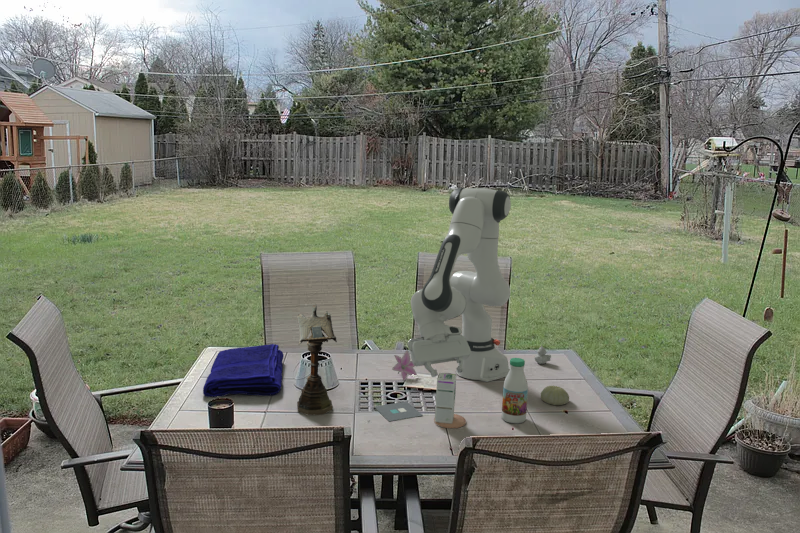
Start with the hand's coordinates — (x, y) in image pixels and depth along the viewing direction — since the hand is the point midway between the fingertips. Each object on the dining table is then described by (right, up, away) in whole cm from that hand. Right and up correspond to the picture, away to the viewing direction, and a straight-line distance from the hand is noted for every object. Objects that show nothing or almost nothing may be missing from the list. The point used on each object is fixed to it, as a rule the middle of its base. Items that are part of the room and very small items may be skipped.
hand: (448, 373), depth 202 cm
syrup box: (-1, -15, 0) cm, 15 cm away
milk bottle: (+21, -15, +3) cm, 26 cm away
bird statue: (-42, -13, +5) cm, 44 cm away
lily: (-14, -8, +37) cm, 41 cm away
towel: (-71, -7, +32) cm, 78 cm away
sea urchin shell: (+38, -13, +19) cm, 44 cm away
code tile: (-16, -13, +6) cm, 22 cm away
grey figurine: (+42, -5, +56) cm, 71 cm away
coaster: (+1, -15, 0) cm, 15 cm away
